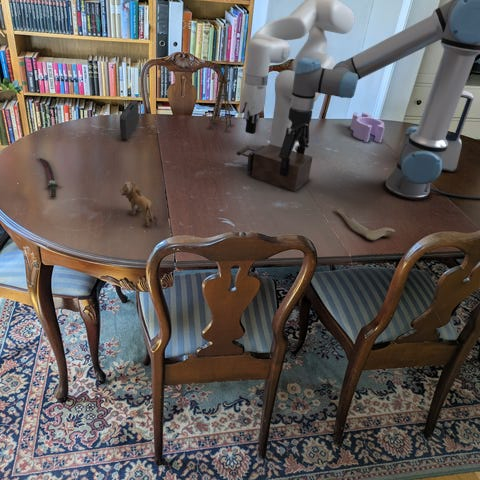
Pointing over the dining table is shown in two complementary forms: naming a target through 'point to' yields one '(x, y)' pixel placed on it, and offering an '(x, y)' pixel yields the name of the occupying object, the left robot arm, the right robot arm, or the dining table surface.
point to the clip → (367, 127)
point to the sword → (52, 181)
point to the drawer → (249, 156)
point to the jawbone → (362, 230)
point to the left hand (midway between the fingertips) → (250, 132)
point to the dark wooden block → (270, 163)
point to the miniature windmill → (224, 81)
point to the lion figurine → (137, 201)
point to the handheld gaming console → (129, 119)
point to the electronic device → (456, 138)
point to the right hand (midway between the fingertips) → (291, 169)
